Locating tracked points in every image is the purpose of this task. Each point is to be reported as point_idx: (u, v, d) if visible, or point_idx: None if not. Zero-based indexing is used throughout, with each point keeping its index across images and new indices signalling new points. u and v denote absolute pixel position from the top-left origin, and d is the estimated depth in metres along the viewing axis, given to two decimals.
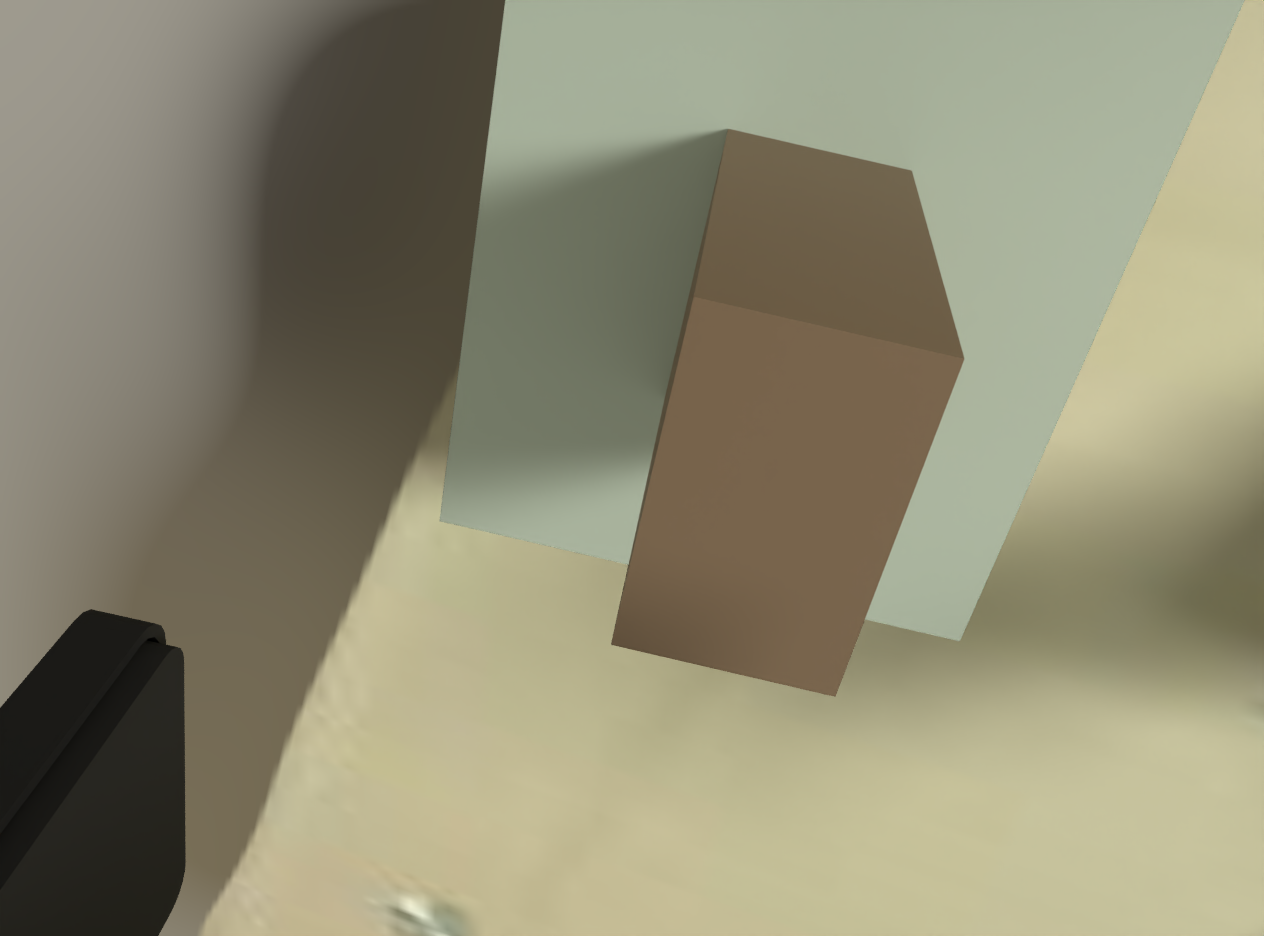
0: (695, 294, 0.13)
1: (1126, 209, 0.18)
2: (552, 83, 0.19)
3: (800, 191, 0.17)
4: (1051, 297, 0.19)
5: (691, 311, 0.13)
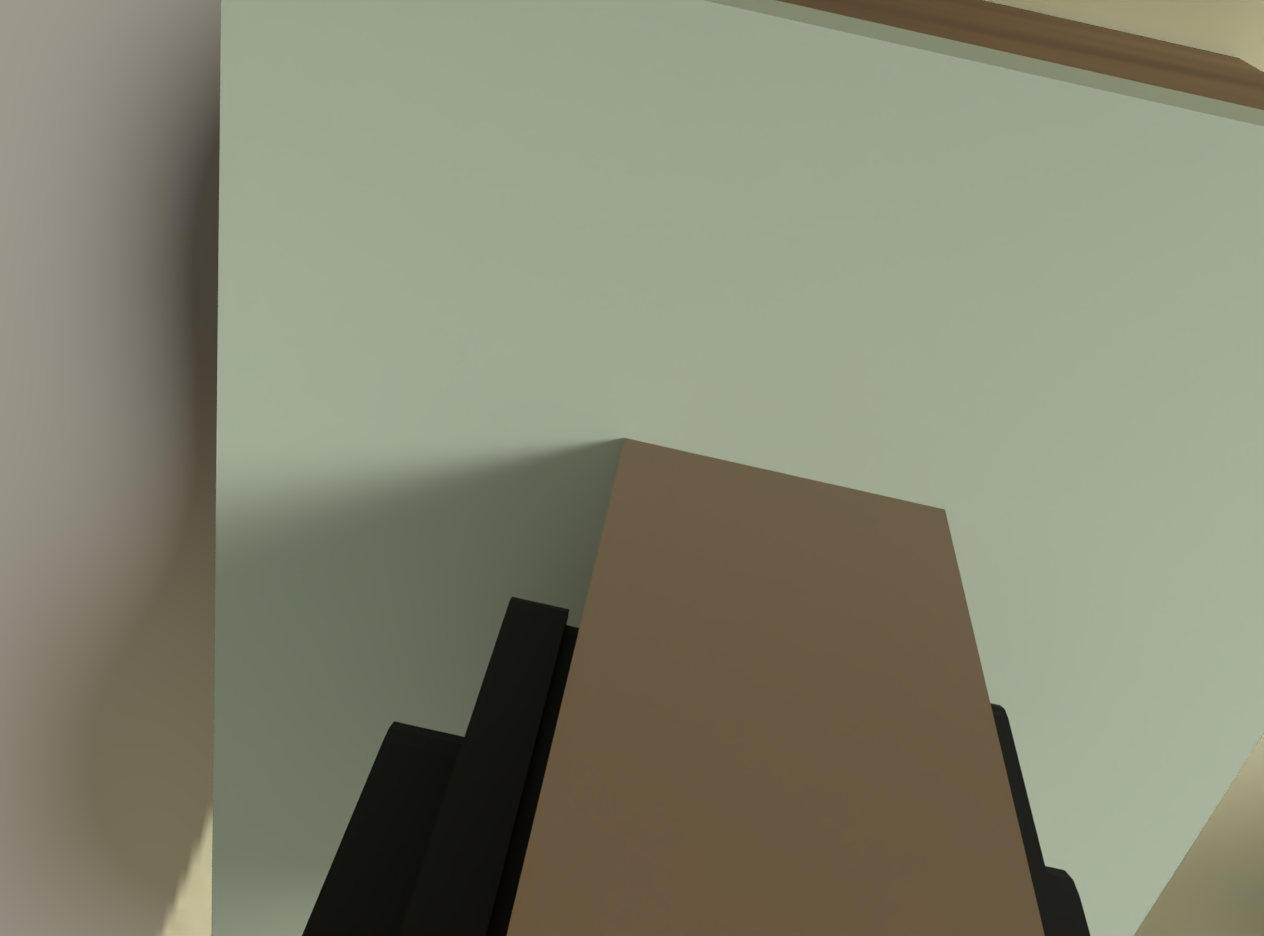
0: None
1: None
2: (315, 361, 0.11)
3: (746, 628, 0.09)
4: (1177, 701, 0.11)
5: None
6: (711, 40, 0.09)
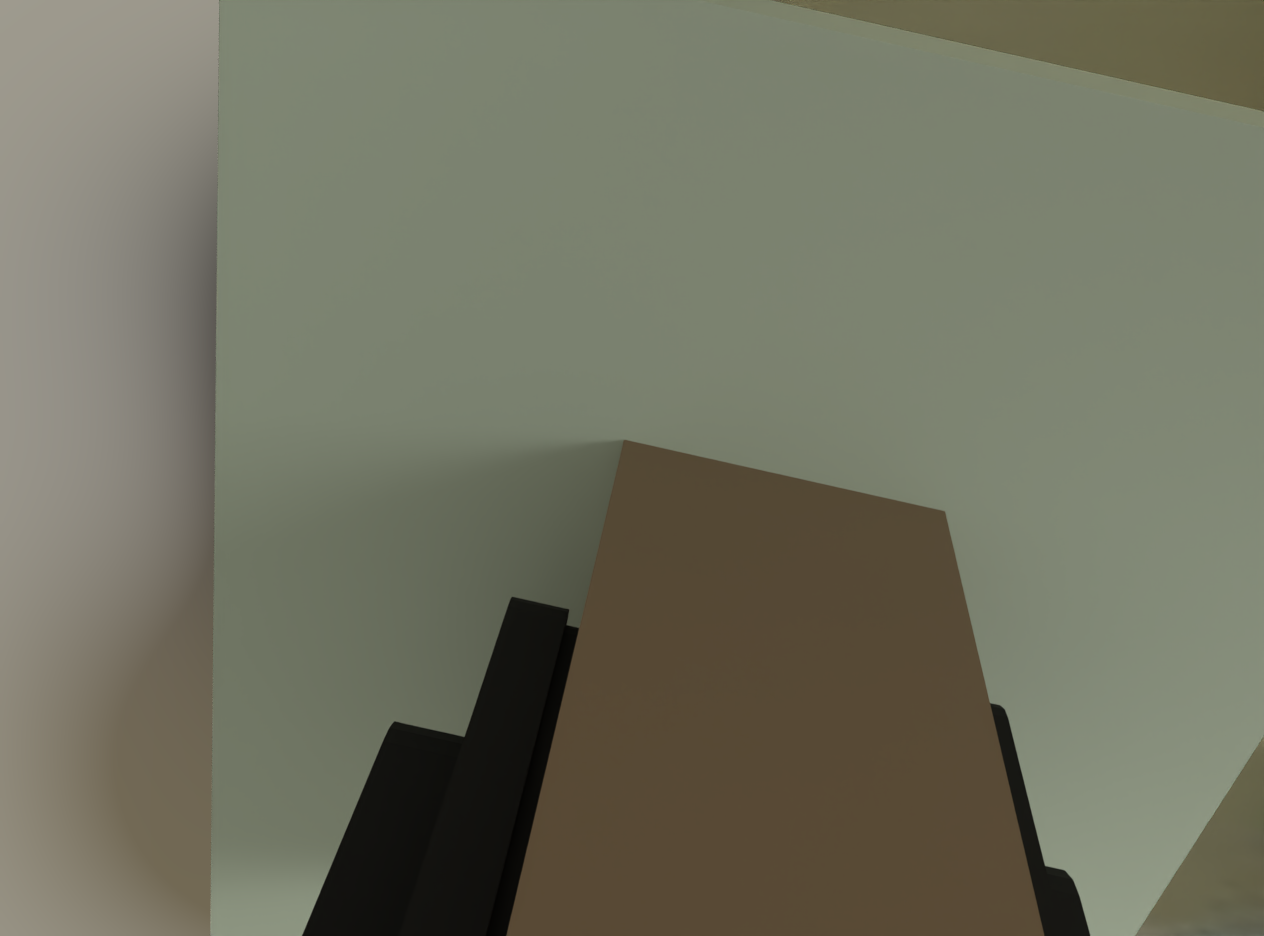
0: None
1: None
2: (314, 363, 0.11)
3: (746, 631, 0.09)
4: (1177, 702, 0.11)
5: None
6: (709, 42, 0.09)
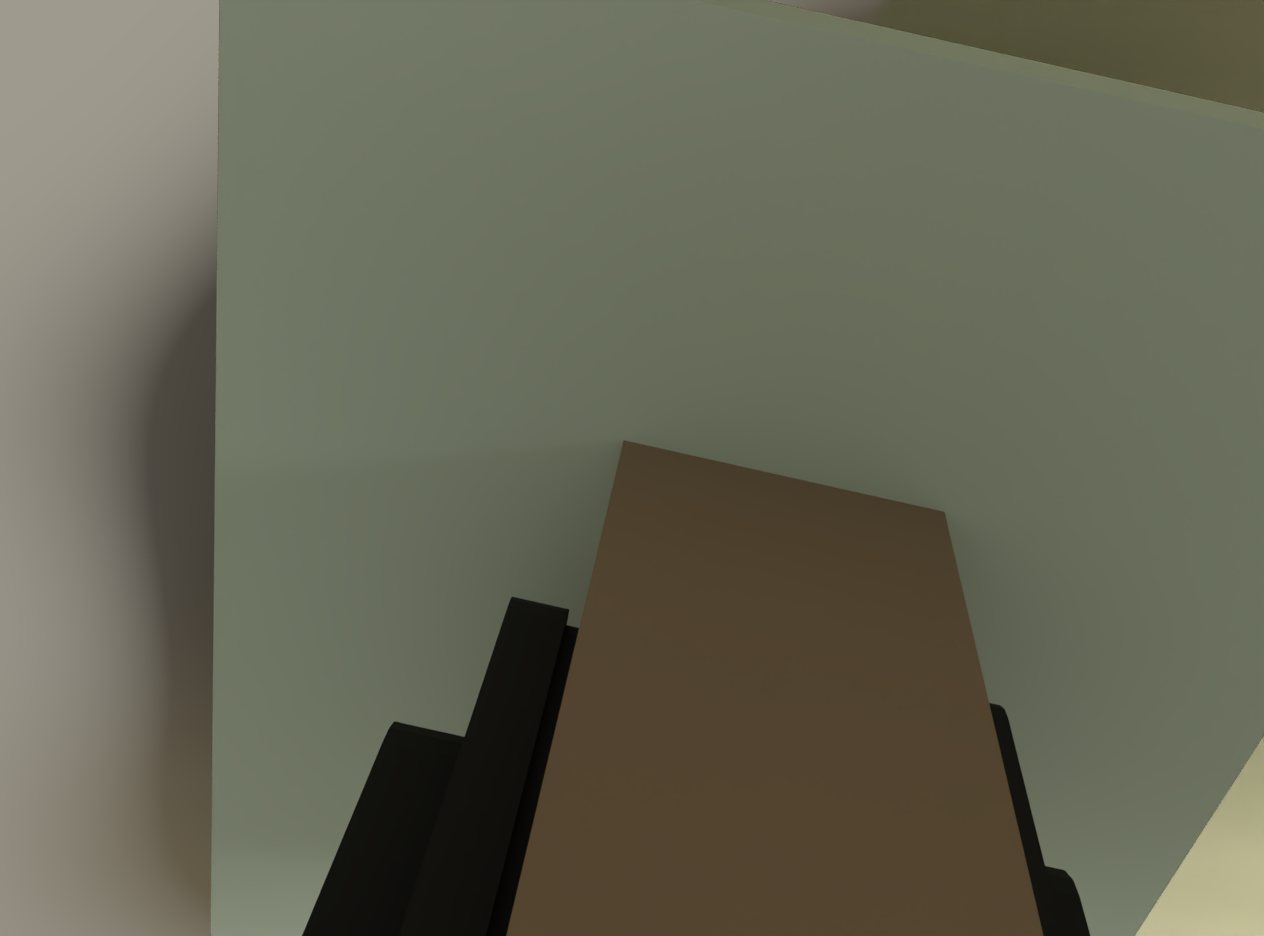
0: None
1: None
2: (314, 363, 0.11)
3: (745, 632, 0.09)
4: (1178, 703, 0.11)
5: None
6: (711, 43, 0.09)
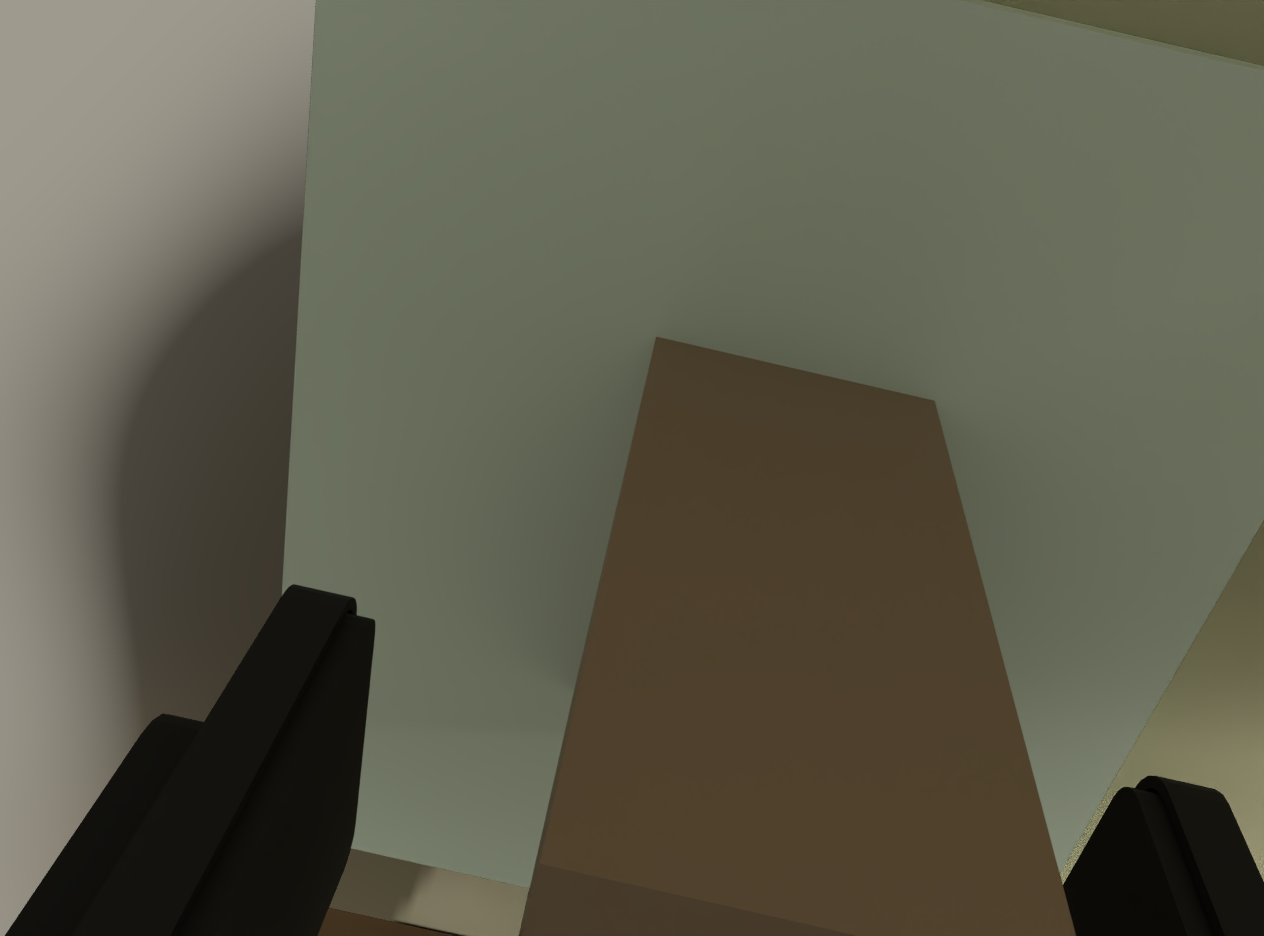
0: (544, 852, 0.06)
1: (1259, 461, 0.12)
2: (387, 267, 0.12)
3: (764, 478, 0.10)
4: (1138, 577, 0.13)
5: (537, 886, 0.06)
6: None
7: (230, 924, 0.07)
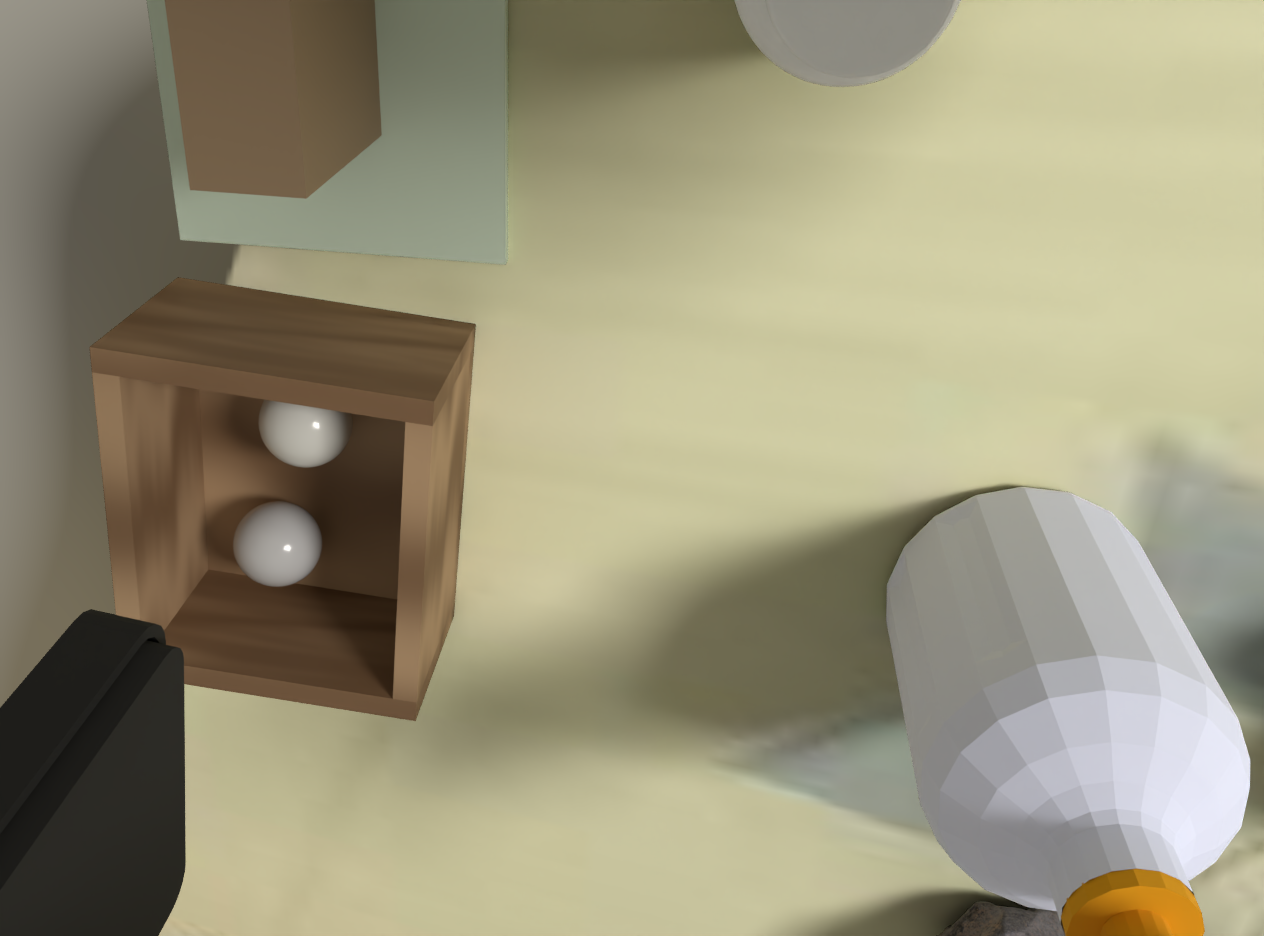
0: None
1: None
2: None
3: None
4: (472, 20, 0.34)
5: None
6: None
7: None
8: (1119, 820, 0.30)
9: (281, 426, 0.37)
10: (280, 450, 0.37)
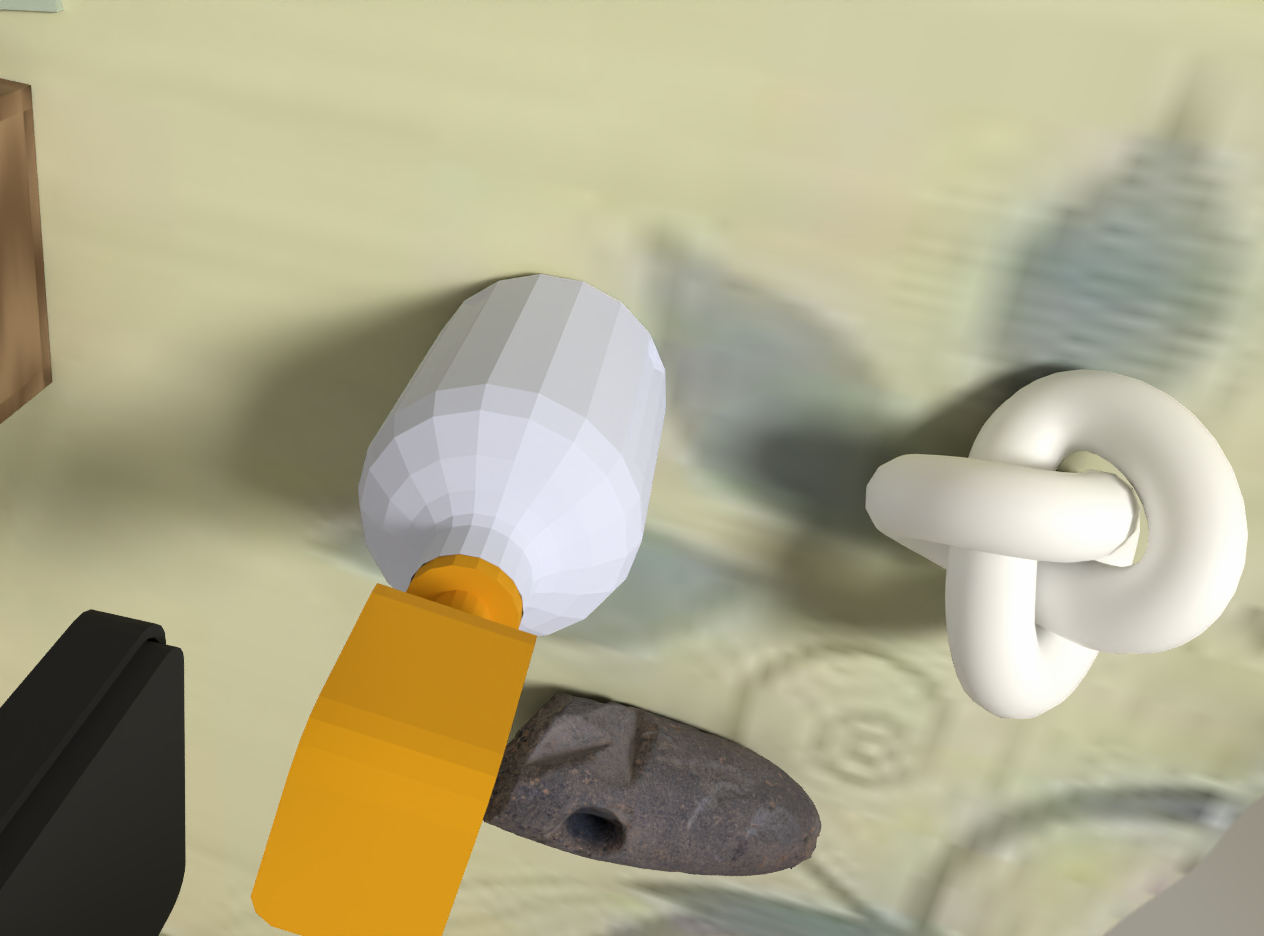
0: None
1: None
2: None
3: None
4: None
5: None
6: None
7: None
8: (472, 522, 0.33)
9: None
10: None
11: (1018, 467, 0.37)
